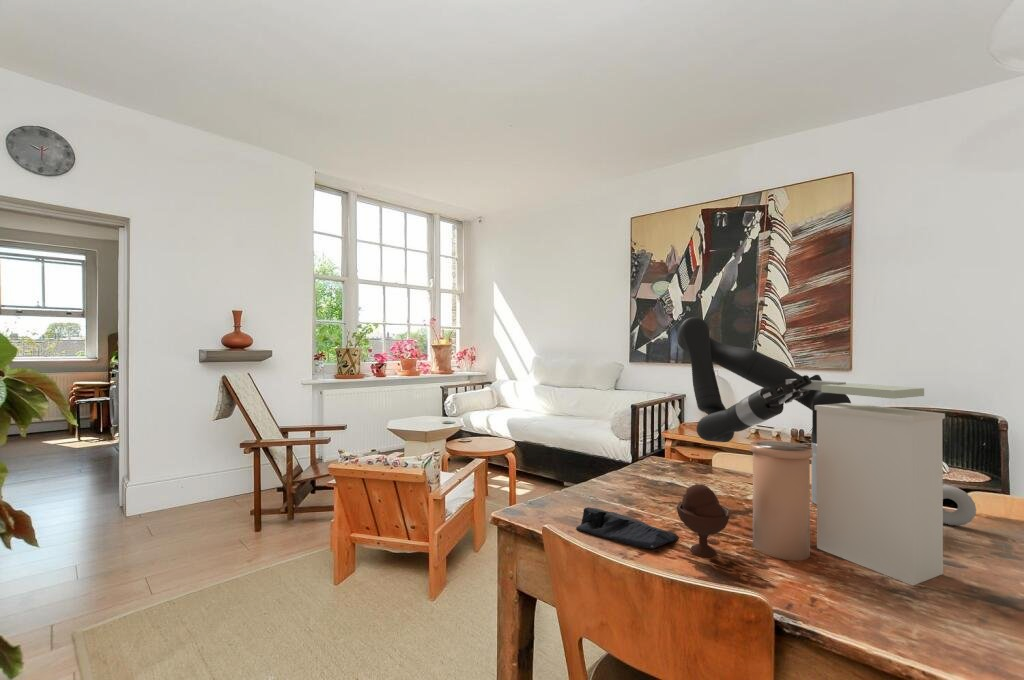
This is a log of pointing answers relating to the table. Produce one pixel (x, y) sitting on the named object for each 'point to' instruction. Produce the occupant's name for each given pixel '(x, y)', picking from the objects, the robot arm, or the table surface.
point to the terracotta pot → (781, 499)
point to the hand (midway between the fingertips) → (814, 378)
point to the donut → (964, 503)
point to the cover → (863, 389)
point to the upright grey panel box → (881, 488)
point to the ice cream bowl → (702, 517)
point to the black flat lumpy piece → (623, 529)
